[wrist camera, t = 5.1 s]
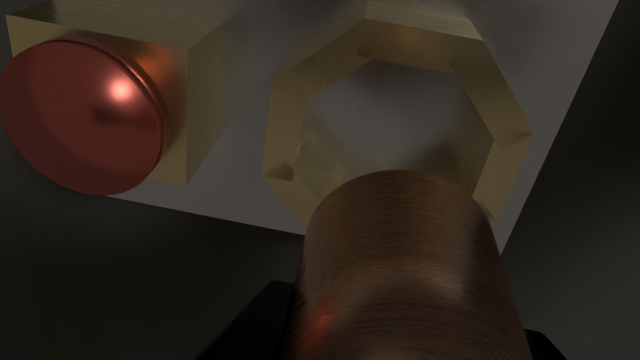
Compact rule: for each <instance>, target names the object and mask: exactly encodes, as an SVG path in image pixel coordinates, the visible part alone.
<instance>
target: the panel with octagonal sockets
mask: <svg viewBox="0 0 640 360" xmlns="http://www.w3.org/2000/svg"><path fill="white" fill-rule="evenodd" d="M618 1H619V0H49V1H46V2H43V3H39V4H36V5H33V6H30V7H27V8H24V9H21V10H18V11H14V12H11V13H8V14H5V15H6V20H7V26H8V32H9V37H10V43H11V49H12V54H13V58H12V59H11V60H10V62H9V63H8V64H7V65H6V67H5V69H4V70H3V72H2V74H1V77H0V117H1V120H2V123H3V125H4V128H5V130H6V132H7V134H8V136H9V138H10V140H11V141H12V143H13V144H14V146H15V147H16V149H17V150H18V151H19V152H20V153H21V155H22V156H23V157H24V158H25V159H26V160H27V161H28V162H29V163H30V164H31V165H32V166H33V167H34V168H35V169H37V170H38V171H39V172H40V173H42V174H43V175H45V176H46V177H47V178H49V179H51V180H52V181H54V182H56V183H57V184H60V185H62V186H64V187H66V188H68V189H71V190H74V191H77V192H81V193H85V194H91V195H103V196H109V197H114V198H119V199H124V200H129V201H134V202H139V203H144V204H149V205H154V206H159V207H164V208H169V209H174V210H179V211H184V212H189V213H195V214H200V215H205V216H210V217H215V218H220V219H225V220H230V221H235V222H240V223H245V224H250V225H255V226H260V227H265V228H270V229H275V230H280V231H286V232H291V233H296V234H301V235H306V231H307V227H308V224H309V221H310V219H311V217H312V214H313V213H314V211H315V210H316V208H317V206H318V205H319V204H320V203H321V202H322V200H323V199H324V198H325V197H326V196H327V195H328V194H330V193H331V192H332V191H333V190H334V189H336V188H337V187H339V186H341V185H342V184H344V183H345V182H348V181H350V180H352V179H354V178H356V177H359V176H362V175H365V174H368V173H373V172H378V171H384V170H413V171H420V172H425V173H429V174H432V175H436V176H438V177H441V178H443V179H446V180H448V181H450V182H452V183H454V184H456V185H457V186H459V187H460V188H462V189H463V190H464V191H466V192H467V193H468V194H469V195H471V196H472V197H473V198H474V199H475V200H476V201H477V203H478V204H479V205H480V206H481V208H482V209H483V210H484V212H485V214H486V216H487V218H488V220H489V222H490V225H491V228H492V231H493V234H494V238H495V241H496V244H497V247H498V250H499V253H500V255H501V253H502V251H503V249H504V247H505V245H506V242H507V240H508V238H509V236H510V234H511V232H512V229H513V227H514V225H515V223H516V221H517V219H518V217H519V214H520V212H521V210H522V208H523V206H524V204H525V201H526V199H527V197H528V195H529V193H530V191H531V189H532V186H533V184H534V182H535V180H536V178H537V176H538V173H539V171H540V169H541V167H542V165H543V163H544V160H545V158H546V156H547V154H548V152H549V150H550V148H551V145H552V143H553V141H554V139H555V137H556V135H557V132H558V130H559V128H560V126H561V124H562V122H563V120H564V117H565V115H566V113H567V111H568V109H569V107H570V104H571V102H572V100H573V98H574V96H575V94H576V91H577V89H578V87H579V85H580V83H581V81H582V79H583V76H584V74H585V72H586V70H587V68H588V66H589V63H590V61H591V59H592V57H593V55H594V53H595V50H596V48H597V46H598V44H599V42H600V40H601V38H602V35H603V33H604V31H605V29H606V27H607V25H608V22H609V20H610V18H611V16H612V14H613V12H614V10H615V7H616V5H617V3H618Z"/></svg>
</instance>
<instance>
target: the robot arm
mask: <svg viewBox="0 0 640 360" xmlns="http://www.w3.org/2000/svg"><path fill="white" fill-rule="evenodd" d="M293 290H294V285H293V283H292V282H289V281H284V280H279V279H272V280H270V281H269V282H268V283H267V284H266V285H265V286H264V287H263V288H262V289H261V290H260V291H259V293H258V294H257V295H256V296H255V297H254V298H253V299H252V300H251V301H250V302H249V303H248V304H247V305H246V306H245V307H244V308H243V309H242V310H241V311H240V312H239V313H238V314H237V315H236V316H235V317H234V319H233V320H232V321H231V322H230V323H229V324H228V325H227V326H226V327H225V328H224V329H223V330H222V331H221V332H220V333H219V334H218V335H217V336H216V337H215V338H214V339H213V340H212V341H211V342H210V343H209V345H208V346H207V347H206V348H205V349H204V350H203V351H202V352H201V353H200V354H199V355H198V356H197V357H196V358H195V359H194V360H277V358H278V354H279V350H280V346H281V342H282V338H283V333H284V329H285V325H286V320H287V316H288V311H289V307H290V303H291V298H292V294H293ZM524 332H525V335H526V338H527V341H528V344H529V347H530V351H531V354H532V357H533V360H567V359H566V358H565V357H564V356H563V355H562V354H561V352H560V351H559V350H558V349H557V348H556V347H555V346H554V345H553V344H552V342H551V341H550V340H549V339H548V338H547V337H546V336H545V335H544V334H543V333H541V332H538V331H533V330H528V329H524Z"/></svg>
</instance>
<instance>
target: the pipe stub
mask: <svg viewBox="0 0 640 360" xmlns="http://www.w3.org/2000/svg"><path fill="white" fill-rule="evenodd" d="M277 360H533V357H532V354H531V351H530V347H529V344H528V341H527V338H526V335H525V332H524V329H523V325H522V322H521V319H520V316H519V313H518V310H517V307H516V303H515V300H514V297H513V294H512V291H511V288H510V285H509V282H508V278H507V275H506V272H505V269H504V266H503V263H502V260H501V256H500V253H499V250H498V247H497V244H496V241H495V238H494V234H493V231H492V228H491V225H490V222H489V220H488V218H487V216H486V214H485V212H484V210H483V209H482V208H481V206H480V205H479V204H478V203H477V201H476V200H475V199H474V198H473V197H472V196H471V195H469V194H468V193H467V192H466V191H464V190H463V189H462V188H460V187H459V186H457V185H456V184H454V183H452V182H450V181H448V180H446V179H443V178H441V177H438V176H436V175H432V174H429V173H425V172H420V171H413V170H384V171H378V172H373V173H368V174H365V175H362V176H359V177H356V178H354V179H352V180H350V181H348V182H345V183H344V184H342V185H341V186H339V187H337V188H336V189H334V190H333V191H332V192H331V193H330V194H328V195H327V196H326V197H325V198H324V199H323V200H322V202H321V203H320V204H319V205H318V206H317V208H316V210H315V211H314V213H313V214H312V217H311V219H310V221H309V224H308V227H307V231H306V235H305V239H304V244H303V248H302V252H301V257H300V261H299V265H298V270H297V274H296V278H295V283H294V290H293V294H292V298H291V303H290V307H289V311H288V316H287V320H286V325H285V329H284V333H283V338H282V342H281V346H280V350H279V354H278V358H277Z"/></svg>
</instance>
